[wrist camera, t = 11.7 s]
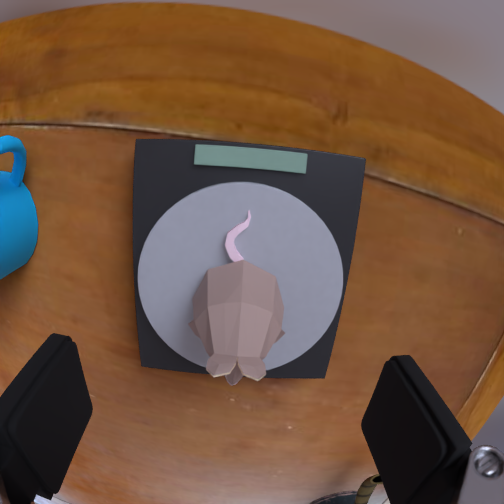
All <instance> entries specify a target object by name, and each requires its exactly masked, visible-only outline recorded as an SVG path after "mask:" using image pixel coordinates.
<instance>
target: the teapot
mask: <svg viewBox="0 0 504 504" xmlns="http://www.w3.org/2000/svg"><path fill="white" fill-rule="evenodd" d="M377 484H383V482H382V480H381V477H380V474H377V475H374V476H371V477H369V478H367V479H366V480H365V481H364V482H363V483H362V485H361V486H360V488H359V489H358V491H348V492H341V493H336V494H332V495H329V496H326V497H322V498H320V499H318V500H316V501H313V502H312V503H310V504H367V503H368V500H369V498H370V496H371V494H372V492H373V490H374V489H375V487H376V486H377Z"/></svg>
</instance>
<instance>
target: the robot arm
mask: <svg viewBox="0 0 504 504" xmlns="http://www.w3.org/2000/svg"><path fill="white" fill-rule="evenodd" d="M92 410H93V407H92V402H91V399H90V396H89V392H88V389H87V385H86V382H85V378H84V374H83V370H82V366H81V362H80V358H79V354H78V349H77V345H76V343H75V342H72V339H71V338H70V337H69V336H65V335H60V334H55V333H53V334H51V335H50V336H49V337H48V338H47V340H46V341H45V342H44V343H43V344H42V345H41V347H40V348H39V349H38V350H37V351H36V353H35V354H34V355H33V356H32V357H31V359H30V360H29V361H28V362H27V363H26V365H25V366H24V367H23V368H22V370H21V371H20V372H19V373H18V375H17V376H16V377H15V378H14V380H13V381H12V382H11V384H10V385H9V386H8V387H7V389H6V390H5V391H4V393H3V394H2V395H1V397H0V504H35V503H34V499H35V496H36V494H37V495H39V496H41V497H44V498H46V499H49V500H51V499H52V496H53V494H56V493H58V492H59V490H60V488H61V485H62V482H63V480H64V478H65V475H66V473H67V470H68V468H69V465H70V463H71V461H72V458H73V456H74V453H75V451H76V449H77V446H78V444H79V442H80V440H81V437H82V435H83V433H84V431H85V428H86V426H87V424H88V422H89V420H90V417H91V415H92ZM361 427H362V431H363V434H364V436H365V439H366V441H367V444H368V446H369V449H370V451H371V454H372V456H373V459H374V462H375V464H376V467H377V469H378V472H379V474H380V477H381V480H382V482H383V485H384V488H385V490H386V493H387V496H388V498H389V501H390V504H504V454H503V452H502V451H500V450H499V449H498V448H496V447H493V446H490V445H481V446H478V447H476V448H475V449H474V450H473V451H471V449H470V446H471V444H472V442H471V441H470V439H469V438H468V436H467V435H466V433H465V432H464V430H463V429H462V427H461V426H460V424H459V423H458V421H457V420H456V418H455V417H454V415H453V414H452V412H451V411H450V410H449V408H448V407H447V405H446V404H445V402H444V401H443V400H442V398H441V397H440V395H439V394H438V393H437V391H436V390H435V388H434V387H433V386H432V384H431V383H430V381H429V380H428V379H427V377H426V376H425V375H424V373H423V372H422V370H421V369H420V368H419V366H418V365H417V364H416V362H415V361H414V360H413V358H412V357H411V356H410V355H401V356H392V357H391V358H390V360H389V361H386V363H385V364H384V367H383V370H382V372H381V375H380V378H379V380H378V383H377V385H376V388H375V390H374V393H373V395H372V398H371V400H370V403H369V405H368V407H367V410H366V412H365V414H364V417H363V419H362V423H361Z"/></svg>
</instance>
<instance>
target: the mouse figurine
mask: <svg viewBox="0 0 504 504" xmlns="http://www.w3.org/2000/svg"><path fill="white" fill-rule="evenodd" d="M250 219H251V214H250V210H249V211H248V218H247V219H246V220H245V221H244V222H241V223H239V224H237V225H236V226H235V227H233V228H232V229H231V230H229V231H228V233H227V237H226V242H225V247H226V250H227V252H228V255H229V257H230V258H231V259H232V260H233V261H234V262H233V263H229V264H225V265H222V266H218V267H215V268H211V269H208V270H207V272H206V274H205V275H204V277H203V279H202V281H201V283H200V285H199V287H198V288H197V290H196V292H195V294H194V296H193V298H192V303H193V320H192V321H191V322H190V323H188V325H189V326H190V328H191V329H192V331H193V332H194V334H195V335H196V336H197V337H199V338H200V339H201V340H202V343H203V345H204V348H205V350H206V352H207V354H208V355H209V356H210V358H209V359H208V362H207V366H206V370H207V371H208V372H209V373H210V374H211V375H212V376H213V377H218V376H223V375H224V376H225V378H226V380H227V382H228V383H229V384H231V385H235V384H236V383H238V382H239V380H240V379H241V378H242V377H243V376H246V377H249V378H251V379H254V380H256V381H259V380H260V379H261V378H263V377H264V376H265V375H266V368H265V363H264V362H263V361H262V360H263V359H264V358H265V357H266V356H267V354H268V352H269V351H270V349H271V347H272V345H273V344H274V343H276V342H277V341H278V340H279V339H280V338H281V337H282V336H283V335H284V334H285V332H284V331H283V330H282V321H283V314H284V305H283V301H282V298H281V294H280V290H279V286H278V283H277V279H276V276H274V275H272V274H270V273H268V272H266V271H264V270H263V269H261V268H259V267H257V266H255V265H253V264H251V263H249V262H247V261H245V260H244V258H243V257H242V256H241V255H240V253H239V252H238V251H237V249H236V246H235V244H234V240H235V238H236V237H237V235H238V234H239V233H241V232H242V231H243V230H245V229H246V228H247V227H248V226H249V222H250Z"/></svg>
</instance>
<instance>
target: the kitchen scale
mask: <svg viewBox="0 0 504 504" xmlns="http://www.w3.org/2000/svg"><path fill="white" fill-rule="evenodd" d="M365 161H366V159H365V158H360V157H355V156H348V155H342V154H336V153H329V152H322V151H315V150H307V149H299V148H291V147H282V146H272V145H262V144H251V143H238V142H223V141H206V140H180V139H136V144H135V160H134V182H133V265H134V287H135V304H136V317H137V329H138V340H139V349H140V358H141V366H143V367H149V368H157V369H164V370H173V371H181V372H191V373H201V374H210V373H209V372H208V371H207V370H206V366H207V362H208V359H209V358H210V356H209V355H208V354H207V352H206V350H205V348H204V345H203V343H202V340H201V339H200V338H199V337H197V336H196V335H195V334H194V332H193V331H192V329H191V328H190V326H189V325H188V323H190V322H191V321H192V320H193V303H192V298H193V296H194V294H195V292H196V290H197V288H198V287H199V285H200V283H201V281H202V279H203V277H204V275H205V274H206V272H207V270H208V269H211V268H215V267H218V266H222V265H225V264H229V263H233V262H234V261H233V260H232V259H231V258H230V257H229V255H228V252H227V250H226V247H225V242H226V237H227V233H228V231H229V230H231V229H232V228H233V227H235V226H236V225H237V224H239V223H241V222H244V221H245V220H246V219H247V218H248V211H249V210H250V214H251V219H250V222H249V226H248V227H247V228H246V229H245V230H243V231H242V232H241V233H239V234H238V235H237V237H236V238H235V240H234V244H235V246H236V249H237V251H238V252H239V253H240V255H241V256H242V257H243V258H244V260H245V261H247V262H249V263H251V264H253V265H255V266H257V267H259V268H261V269H263V270H264V271H266V272H268V273H270V274H272V275H274V276H276V279H277V283H278V286H279V290H280V294H281V298H282V301H283V305H284V314H283V321H282V330H283V331H284V332H285V334H284V335H283V336H282V337H281V338H280V339H279V340H278V341H277V342H276V343H274V344H273V345H272V347H271V349H270V351H269V352H268V354H267V356H266V357H265V358H264V359H263V360H262V361H263V362H264V363H265V368H266V375H265V376H264V377H263V378H325V375H326V371H327V367H328V364H329V360H330V356H331V352H332V348H333V344H334V340H335V336H336V331H337V327H338V323H339V318H340V314H341V309H342V305H343V300H344V295H345V290H346V285H347V280H348V275H349V270H350V264H351V259H352V253H353V247H354V242H355V235H356V229H357V223H358V216H359V209H360V202H361V195H362V187H363V179H364V170H365ZM243 377H246V376H243Z"/></svg>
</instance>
